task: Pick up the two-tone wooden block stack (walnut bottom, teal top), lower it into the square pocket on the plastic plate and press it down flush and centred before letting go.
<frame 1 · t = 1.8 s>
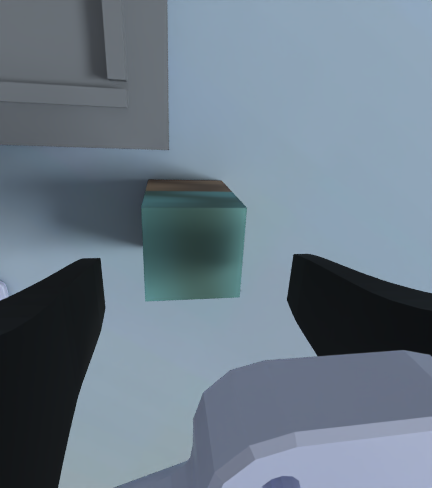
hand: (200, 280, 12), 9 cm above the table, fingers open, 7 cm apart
plate: (39, 12, 15), on the table
block stack: (185, 215, 20), on the table
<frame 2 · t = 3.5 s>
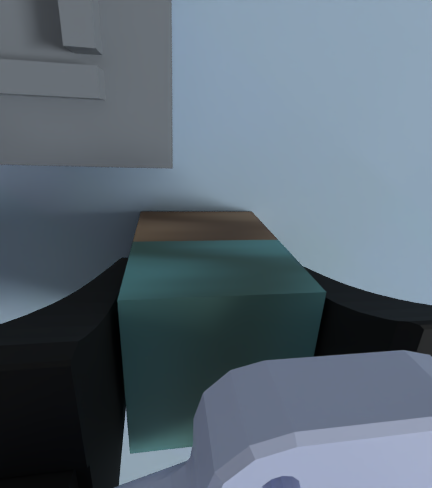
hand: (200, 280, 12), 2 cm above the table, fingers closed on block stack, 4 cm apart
block stack: (196, 262, 13), on the table, touching gripper
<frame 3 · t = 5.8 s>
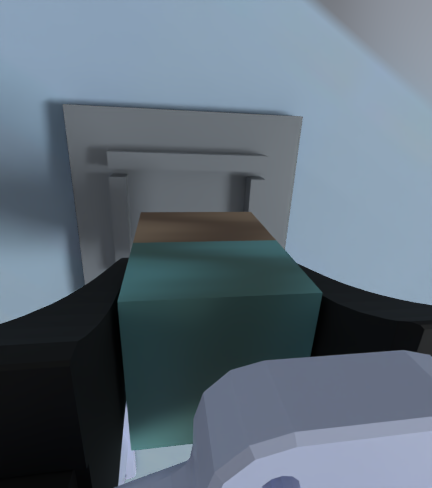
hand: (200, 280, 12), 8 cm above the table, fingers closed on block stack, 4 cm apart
plate: (187, 219, 19), on the table
block stack: (196, 261, 13), point 6 cm above the table, touching gripper
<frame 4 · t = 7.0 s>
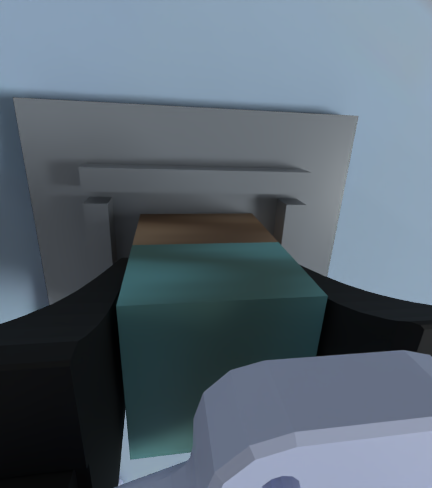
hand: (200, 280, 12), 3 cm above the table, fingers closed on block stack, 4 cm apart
plate: (194, 254, 14), on the table
block stack: (196, 264, 13), point 1 cm above the table, touching gripper, plate
when the fingers open (3 cm above the table, at t = 8.3 s): block stack stays where it is, resting on plate.
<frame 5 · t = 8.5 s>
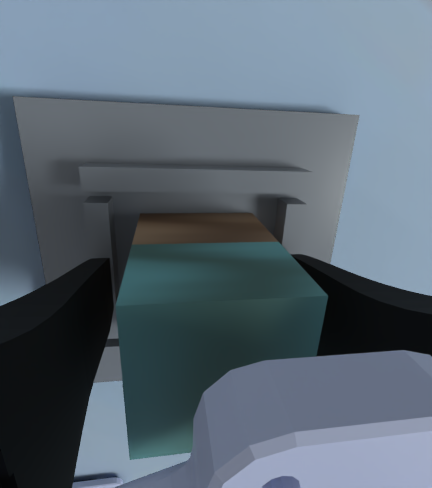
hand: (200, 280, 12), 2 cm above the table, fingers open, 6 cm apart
plate: (195, 253, 14), on the table
block stack: (196, 263, 13), point 1 cm above the table, touching plate
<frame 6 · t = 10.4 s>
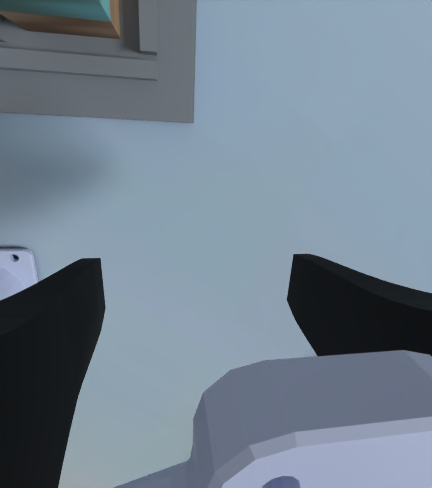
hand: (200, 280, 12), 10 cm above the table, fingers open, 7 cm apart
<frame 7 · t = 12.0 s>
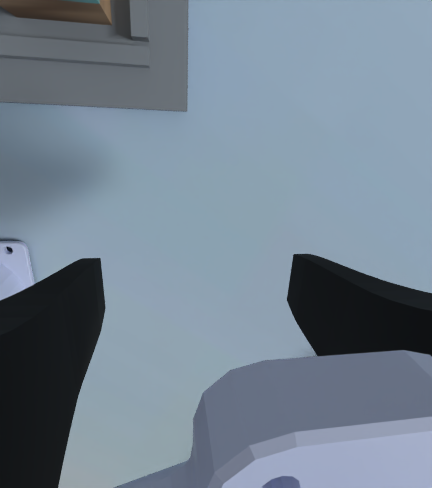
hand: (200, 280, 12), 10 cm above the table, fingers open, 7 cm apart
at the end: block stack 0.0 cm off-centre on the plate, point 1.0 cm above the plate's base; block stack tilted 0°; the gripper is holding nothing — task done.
